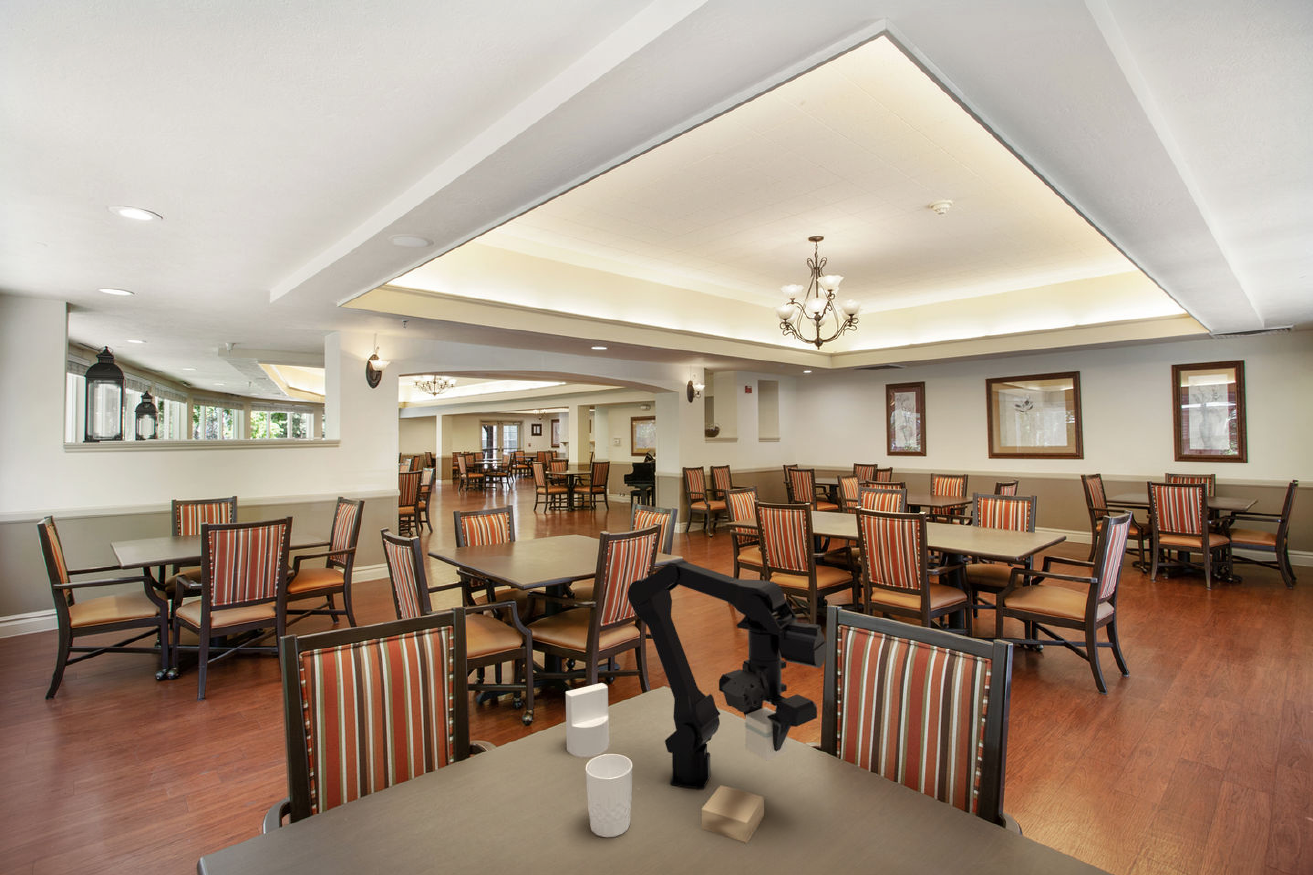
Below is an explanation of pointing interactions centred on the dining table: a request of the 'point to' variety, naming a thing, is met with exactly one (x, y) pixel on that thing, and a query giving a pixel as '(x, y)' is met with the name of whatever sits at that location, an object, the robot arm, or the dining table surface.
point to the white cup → (609, 794)
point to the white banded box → (761, 734)
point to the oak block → (733, 813)
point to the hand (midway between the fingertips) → (765, 744)
